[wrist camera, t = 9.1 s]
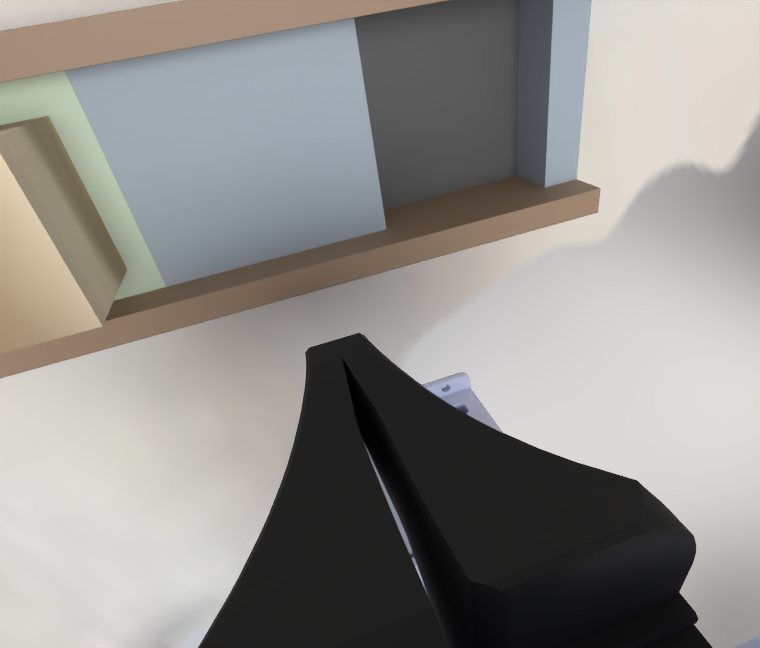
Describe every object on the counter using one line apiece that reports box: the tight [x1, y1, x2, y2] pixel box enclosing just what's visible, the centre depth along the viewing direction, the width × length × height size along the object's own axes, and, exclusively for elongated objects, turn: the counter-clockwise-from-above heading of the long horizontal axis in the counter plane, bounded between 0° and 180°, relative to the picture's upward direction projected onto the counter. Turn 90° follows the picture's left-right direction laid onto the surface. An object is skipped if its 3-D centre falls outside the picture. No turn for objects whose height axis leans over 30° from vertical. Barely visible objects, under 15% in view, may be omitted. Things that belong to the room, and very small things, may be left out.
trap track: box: [0, 0, 600, 378], centre depth 15 cm, size 31×9×4 cm, turn 99°
